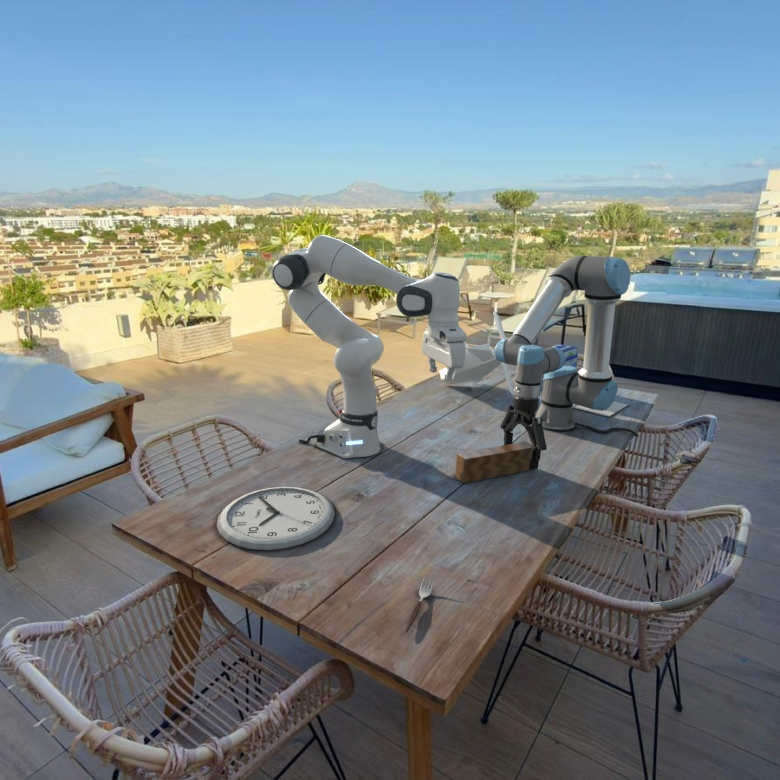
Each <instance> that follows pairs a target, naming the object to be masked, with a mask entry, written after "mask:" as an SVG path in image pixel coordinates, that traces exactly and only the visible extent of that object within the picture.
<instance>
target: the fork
mask: <svg viewBox="0 0 780 780" xmlns="http://www.w3.org/2000/svg"><path fill="white" fill-rule="evenodd" d="M435 577H436V576H434V577H433V580H432V577H429V576H427V577H426V574H424V575H423V579H422V581H421V585H420V588H419V589H418V594H419V597H420V598H419V600H418V602H417V604H416V605H415V606H414V608H413V609H412V611H411V615H410V618H409V620H408V621H409V622H408V623H407V627H406V630H405V633H408V632H409V630H410V629H411V627H412V625H413V624H414V621H415V620H416V618H417V617H418V615H419V613H420V608H421V605H422V603H423V602H422V601H423V599H425V598H428V597H430V596H431V595H432V592H433V588H434V583H435ZM425 578H426V581H425ZM429 578H430V579H429ZM428 579H429V582H428ZM431 581H432V583H431ZM424 582H425V583H424Z"/></svg>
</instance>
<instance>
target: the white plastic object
mask: <svg viewBox="0 0 780 780" xmlns="http://www.w3.org/2000/svg"><path fill="white" fill-rule="evenodd" d="M492 315H493V319H494V321H495V324H496V325H495V326H496V328H497V332H498V335H499V338H500V341H501V340H507V337H506V334H505V331H504V328H503V325H502V321H501V318H500V315H499V314H498V312H497V311H496V310H495V311H492ZM463 342H464V343H465V361H464V365H463V367H462V368H457V369H455V371H454V373H453V375H452V380H451V381H447V380H445V374H446V373H447V366H446V367H444V368H442V369H440V370H439V371H438V372H439V376H440V381H442V383H443V384H444V385H445V386H449V385H458V384H467V383H468V384H469V383H473V384H477V383H480V382H482V381H484V378H485V377H486V376H487V375H489V374H490V373H492V372H494V371H495V370H496V369H497V368H499V367H500V366H502V370H503V373H504V376H505V380H506V383H507V386H508V390H509V393H510V394H511V395H512V397H514V396H515V394H514V393H515V384H514V381H513V378H512V375H511V371H510V369H509V364H506V363H503V362H500V361H498V360H497V359H496V357H495V354H494V351H495V349H493V348H492V347H491V346H490V344H489V343H488V342H487V343H483V344H479V345H473V346H469V345H468V343H466V341H463ZM514 366H515V369H516V370H517V366H516V365H514Z"/></svg>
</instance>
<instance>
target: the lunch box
mask: <svg viewBox="0 0 780 780" xmlns="http://www.w3.org/2000/svg"><path fill="white" fill-rule="evenodd" d="M551 347H557V348H560V349H561V350H562V351H563V352H564V354H565V364H564V365H563V366H573V367H576V368H577V366H578V356H579V354H578V353H579V352H578V347H577V346H571V345H565V344H556V345H553V346H551ZM543 378H544V374H543V375H542V378H541V388H540V392H542V391H543V381H544V380H543Z"/></svg>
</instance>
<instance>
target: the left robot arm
mask: <svg viewBox="0 0 780 780" xmlns="http://www.w3.org/2000/svg"><path fill="white" fill-rule="evenodd" d="M271 269H272V270H271V274H272V279H273V280H274V282H275V284H276V285H277V286H278V287H279V288H280V289H282V290H285V291H289V292H288V294H287V302H288V303H287V304H288V305H289V306H290V308H291V309H292V311H293V312H294V313H295V315H296V316H297V317H298V318H299V319H300V320H301V321H302V322H303V323H304V324H305V325H306V326H307V327H308V329H309V330H311V331H312V332H313V334H315V335H316V336H317V338H319V339H320V340H321V341H323V342H324V343H326V344H330V345H332V346H333V347H335V348H337V349H336V351H335V353H334V355H333V365H334V368H335V369H336V371H337V372H338V373H339V376H340V377H339V378H340V380H341V384H342V396H343V399H342V402H343V404H342V405H343V407H342V408H341V409H340V410H338V411H337V412H336V413H337V414H336V415H337V416H338V415H339V417H338V418H337V419H336V420H334V421H333V422H331V423H330V424H329V425H328V426H326V427H325V429H324V430H318V431H317V434H314V435H310V436H308V437H307V439H306V440H304V439H299V441H298V442H299V443H301V444H302V443H303V444H309V443H310V442H311V439H316V447H317V448H319V449H322V450H324V451H326V452H329V453H331V454H333V455H335V456H338V457H340V458H343V459H352V458H364V457H365V458H366V457H371V456H374V455H376V454H378V453H380V452H381V450H382V446H381V444H380V440H379V434H378V424H379V423H378V422H379V414H378V413H379V411H378V408H377V402H378V401H377V395H378V393H377V386H376V385H375V383H374V377H373V373H372V370H373V366H374V365H376V364H377V363H378V362H379V361H380V359H381V358H382V356H383V353H384V349H385V347H384V346H385V345H384V341H383V340H382V339H381V337H380V336H378V335H377V334H376V333H371V332H370V331H368V330H367V329H365V328H364V327H362V326H361V325H360V324H358V323H356V322H355V321H354V320H352V319H351V318H349V317H348V316H347V315H346V314H344V313H343V312H342V311H341V310H340V309H339V308H338V307H337V306H336V305H335V304H334V303H333V302H332V301H331V300H330V299H329V298H328V297H326V295H325V294H324V293H323V292H322V291H321V290H320V288H319V285H322V284H323V283H324V281H325V278H326V275H327V276H329V277H331V278H332V279H335V280H337V281H338V282H341V283H344V284H347V285H350V286H376V287H380V288H383V289H386V290H388V291H391V292H392V293H395V294H397V295H396V300H395V303H396V307H397V310H398V311H399V312H400V313H401V314H402V315H403V316H405V317H407V318H418V317H423V316H425V317H427V326H426V328H425V330H424V332H423V334H422V340H421V353H422V355H424V356H425V357H427V361H428V365H429V372H431V373H437V371H438V366H437V364H436V363H440V364H442V365H444V366H446V367H447V373H446V374H445V380H447V381H451V380H452V375H453V373H454V371H455V369H457V368H462V367H463V365H464V361H465V343H466V341H467V340H468V339H467V338H468V335H467V333H466V332H465V330H464V329H463V328H462V327H461V326H460V324H459V315H458V314H459V308H460V301H461V291H460V281H459V279H458V278H457V277H456V276H454V275H453V274H450V273H446V272H440V271H439V272H438V271H437V272H433V273H432V274H431V275H429V276H427V277H426V278H424V279H418V278H413V277H411V276H408V275H406V274H404V273H403V272H401V271H398V270H396V269H393V268H391V267H389V266H387V265H385V264H383V263H381V262H380V261H378V260H377V259H375V258H373V257H371V256H369V255H368V254H366V253H365V252H363V251H362V250H360V249H358V248H356V247H355V246H353V245H351V244H349V243H347V242H345V241H343V240H341V239H338V238H335V237H332V236H329V235H324V234H319V235H317V236H315V237H314V238H313V239H312V240H311V241H310V242H309V244H308V246H305V247H302V248H298V249H296V250H293V251H291V252H289V253H288V254H285V255H282V256H281V257H279V258H278V259H276V261H275V262H274V263H273V264H272V268H271ZM463 341H464V342H465V343H464V342H463Z"/></svg>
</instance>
